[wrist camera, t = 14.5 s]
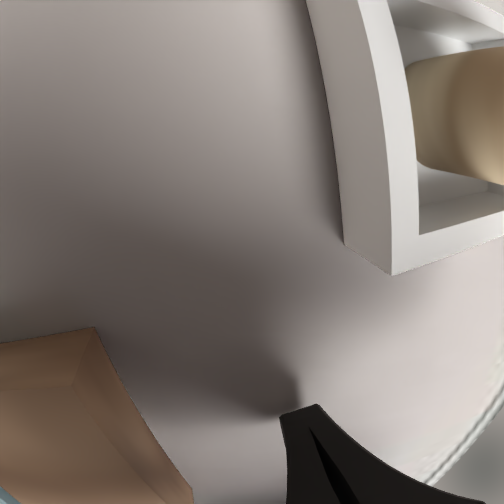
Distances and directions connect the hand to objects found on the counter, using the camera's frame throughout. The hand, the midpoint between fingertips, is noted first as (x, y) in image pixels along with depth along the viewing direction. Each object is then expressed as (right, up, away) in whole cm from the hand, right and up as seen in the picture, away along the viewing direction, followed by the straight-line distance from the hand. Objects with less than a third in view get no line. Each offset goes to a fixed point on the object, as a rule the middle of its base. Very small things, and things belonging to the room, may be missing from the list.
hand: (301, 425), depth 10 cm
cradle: (+4, +10, -2) cm, 11 cm away
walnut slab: (-9, -2, 0) cm, 10 cm away
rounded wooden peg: (+4, +10, -2) cm, 11 cm away
